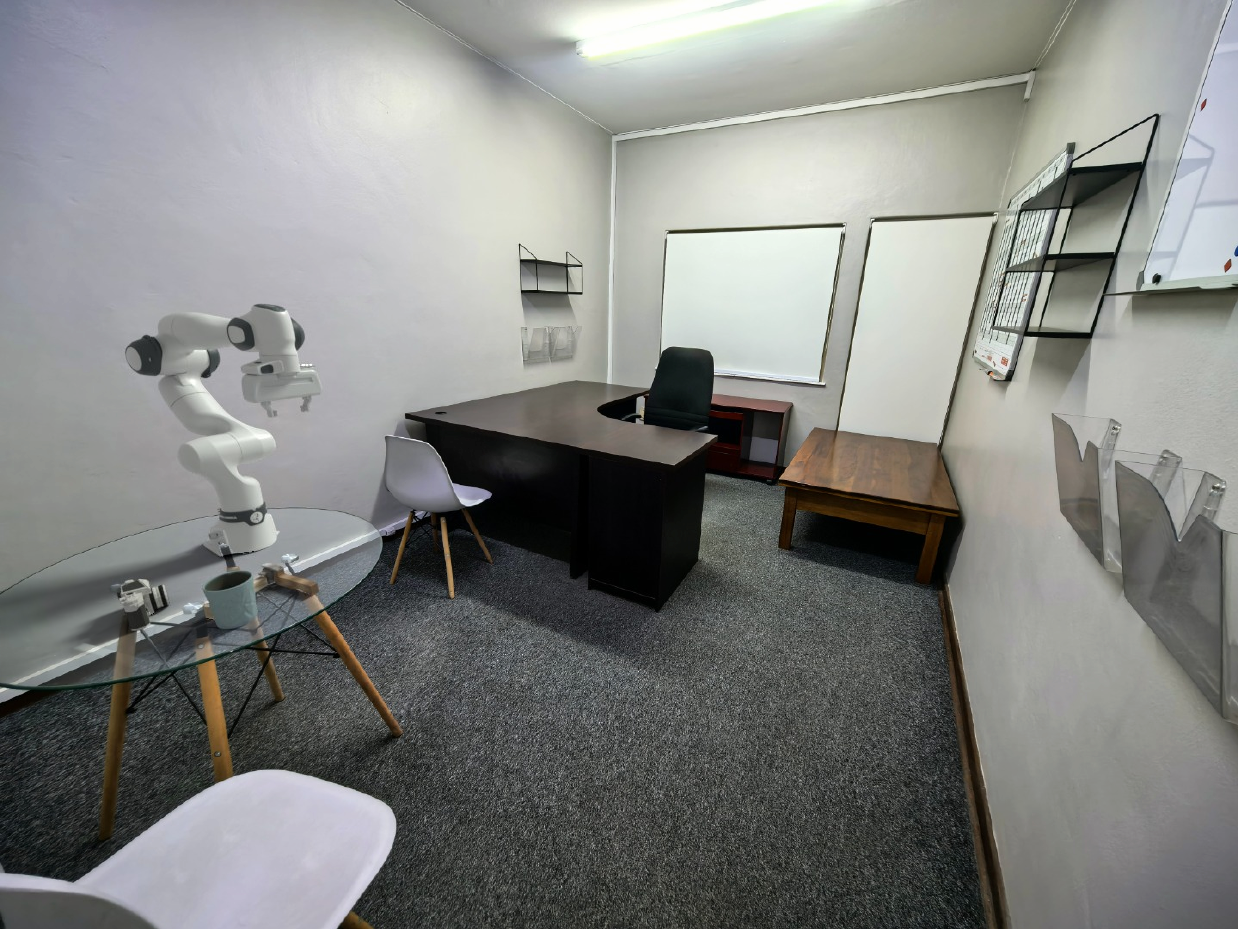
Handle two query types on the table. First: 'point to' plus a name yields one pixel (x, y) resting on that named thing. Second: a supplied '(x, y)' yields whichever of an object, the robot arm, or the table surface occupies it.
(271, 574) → the base
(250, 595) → the green ceramic pot
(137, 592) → the camera
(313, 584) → the tongs jaw
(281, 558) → the table surface
